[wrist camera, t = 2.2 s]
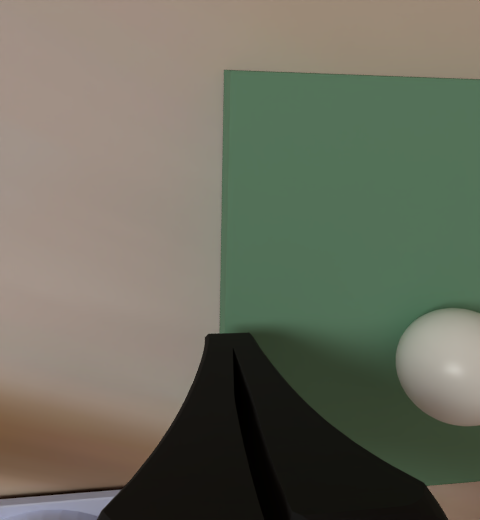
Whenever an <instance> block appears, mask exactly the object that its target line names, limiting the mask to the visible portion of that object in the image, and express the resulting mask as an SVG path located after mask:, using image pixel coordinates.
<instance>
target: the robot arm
mask: <svg viewBox="0 0 480 520" xmlns="http://www.w3.org/2000/svg"><path fill="white" fill-rule="evenodd" d="M0 520H448V518H447V517H446V515H445V513H444V511H443V510H442V508H441V507H440V505H439V504H438V502H437V500H436V499H435V498H434V496H433V495H432V494H431V492H430V491H429V489H428V488H427V486H426V485H425V483H424V482H422V481H420V480H418V479H416V478H414V477H413V476H411V475H409V474H407V473H405V472H403V471H401V470H400V469H398V468H396V467H394V466H392V465H390V464H389V463H387V462H385V461H383V460H382V459H380V458H379V457H377V456H375V455H374V454H372V453H371V452H369V451H368V450H366V449H364V448H363V447H361V446H360V445H358V444H357V443H355V442H354V441H353V440H351V439H350V438H349V437H347V436H346V435H345V434H343V433H342V432H340V431H339V430H338V429H336V428H335V427H334V426H332V425H331V424H330V423H329V422H328V421H326V420H325V419H324V418H323V417H322V416H321V415H319V414H318V413H317V412H316V411H315V410H314V409H313V408H312V407H311V406H310V405H309V404H308V403H306V402H305V401H304V400H303V399H302V398H301V397H300V395H299V394H298V393H297V392H296V391H295V390H294V389H293V388H292V387H291V386H290V385H289V384H288V382H287V381H286V380H285V379H284V378H283V377H282V375H281V374H280V373H279V372H278V370H277V369H276V368H275V367H274V366H273V364H272V363H271V362H270V360H269V359H268V358H267V356H266V355H265V354H264V352H263V351H262V349H261V348H260V346H259V345H258V343H257V342H256V340H255V339H254V337H253V336H252V335H251V334H250V333H249V332H248V333H221V334H208V335H207V336H206V337H205V346H204V351H203V355H202V359H201V362H200V365H199V368H198V371H197V374H196V376H195V379H194V381H193V384H192V386H191V388H190V390H189V392H188V395H187V397H186V399H185V401H184V403H183V405H182V407H181V409H180V411H179V412H178V414H177V416H176V418H175V419H174V421H173V423H172V424H171V426H170V428H169V429H168V431H167V432H166V434H165V435H164V437H163V438H162V440H161V441H160V443H159V444H158V446H157V447H156V448H155V450H154V451H153V452H152V454H151V455H150V456H149V458H148V459H147V460H146V461H145V463H144V464H143V465H142V466H141V468H140V469H139V470H138V471H137V473H136V474H135V475H134V476H133V477H132V479H131V480H130V481H129V482H128V483H127V484H126V485H125V486H124V487H123V489H121V490H108V491H96V492H84V493H71V494H59V495H47V496H34V497H22V498H9V499H0Z"/></svg>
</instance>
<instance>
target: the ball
mask: <svg viewBox="0 0 480 520" xmlns="http://www.w3.org/2000/svg"><path fill="white" fill-rule="evenodd" d="M396 370H397V375H398V378H399V381H400V384H401V386H402V388H403V389H404V391H405V393H406V395H407V396H408V397H409V398H410V400H411V401H412V402H413V403H414V404H415V405H416V406H417V407H418V408H419V409H421V410H422V411H423V412H425V413H426V414H427V415H429V416H431V417H433V418H435V419H437V420H439V421H442V422H444V423H448V424H451V425H457V426H478V425H480V313H478V312H474V311H471V310H467V309H460V308H445V309H439V310H435V311H432V312H429V313H427V314H424V315H422V316H421V317H419V318H418V319H416V320H415V321H414V322H412V323H411V324H410V325H409V326H408V328H407V329H406V330H405V332H404V333H403V335H402V336H401V338H400V340H399V343H398V346H397V350H396Z"/></svg>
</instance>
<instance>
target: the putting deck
mask: <svg viewBox="0 0 480 520" xmlns="http://www.w3.org/2000/svg"><path fill="white" fill-rule="evenodd" d="M445 308H460V309H467V310H471V311H474V312H478V313H480V79H454V78H427V77H400V76H373V75H346V74H319V73H292V72H265V71H238V70H224V106H223V164H222V223H221V281H220V334H221V333H248V332H249V333H250V334H251V335H252V336H253V337H254V339H255V340H256V342H257V343H258V345H259V346H260V348H261V349H262V351H263V352H264V354H265V355H266V356H267V358H268V359H269V360H270V362H271V363H272V364H273V366H274V367H275V368H276V369H277V370H278V372H279V373H280V374H281V375H282V377H283V378H284V379H285V380H286V381H287V382H288V384H289V385H290V386H291V387H292V388H293V389H294V390H295V391H296V392H297V393H298V394H299V395H300V397H301V398H302V399H303V400H304V401H305V402H306V403H308V404H309V405H310V406H311V407H312V408H313V409H314V410H315V411H316V412H317V413H318V414H319V415H321V416H322V417H323V418H324V419H325V420H326V421H328V422H329V423H330V424H331V425H332V426H334V427H335V428H336V429H338V430H339V431H340V432H342V433H343V434H345V435H346V436H347V437H349V438H350V439H351V440H353V441H354V442H355V443H357V444H358V445H360V446H361V447H363V448H364V449H366V450H368V451H369V452H371V453H372V454H374V455H375V456H377V457H379V458H380V459H382V460H383V461H385V462H387V463H389V464H390V465H392V466H394V467H396V468H398V469H400V470H401V471H403V472H405V473H407V474H409V475H411V476H413V477H414V478H416V479H418V480H420V481H422V482H424V483H425V485H426V486H430V485H442V484H453V483H465V482H476V481H480V425H478V426H457V425H451V424H448V423H444V422H442V421H439V420H437V419H435V418H433V417H431V416H429V415H427V414H426V413H425V412H423V411H422V410H421V409H419V408H418V407H417V406H416V405H415V404H414V403H413V402H412V401H411V400H410V398H409V397H408V396H407V395H406V393H405V391H404V389H403V388H402V386H401V384H400V381H399V378H398V375H397V370H396V350H397V346H398V343H399V340H400V338H401V336H402V335H403V333H404V332H405V330H406V329H407V328H408V326H409V325H410V324H411V323H412V322H414V321H415V320H416V319H418V318H419V317H421V316H422V315H424V314H427V313H429V312H432V311H435V310H439V309H445Z"/></svg>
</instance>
